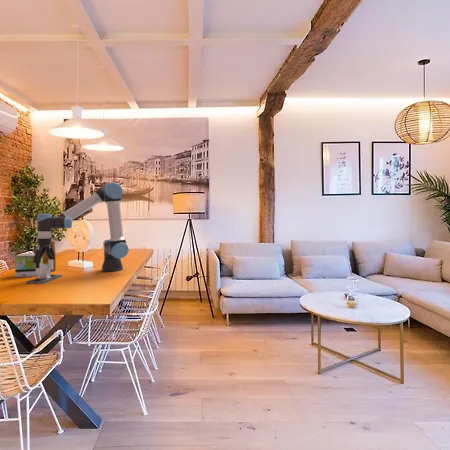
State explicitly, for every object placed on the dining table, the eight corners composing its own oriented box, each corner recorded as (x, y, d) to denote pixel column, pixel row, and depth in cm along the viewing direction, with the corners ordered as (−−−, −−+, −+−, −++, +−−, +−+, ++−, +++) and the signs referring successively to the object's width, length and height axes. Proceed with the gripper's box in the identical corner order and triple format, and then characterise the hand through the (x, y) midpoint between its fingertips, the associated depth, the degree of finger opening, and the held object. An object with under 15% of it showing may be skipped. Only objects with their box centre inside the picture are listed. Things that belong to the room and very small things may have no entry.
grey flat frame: (47, 276, 214) (47, 274, 214) (62, 276, 214) (62, 274, 214) (26, 284, 192) (26, 281, 192) (42, 284, 192) (42, 281, 192)
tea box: (15, 277, 210) (14, 255, 209) (18, 275, 219) (18, 253, 219) (41, 276, 215) (40, 254, 215) (43, 273, 225) (43, 252, 224)
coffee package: (35, 270, 236) (35, 241, 235) (54, 269, 243) (54, 240, 242) (37, 272, 228) (36, 242, 227) (56, 271, 235) (56, 241, 234)
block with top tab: (41, 279, 205) (41, 263, 205) (52, 279, 205) (52, 263, 204) (37, 280, 200) (37, 264, 200) (48, 280, 200) (48, 264, 200)
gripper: (49, 236, 214) (49, 267, 215) (26, 239, 189) (26, 274, 190) (60, 236, 214) (60, 268, 215) (38, 239, 189) (39, 275, 190)
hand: (44, 271), depth 202 cm, fingers open, 13 cm apart
